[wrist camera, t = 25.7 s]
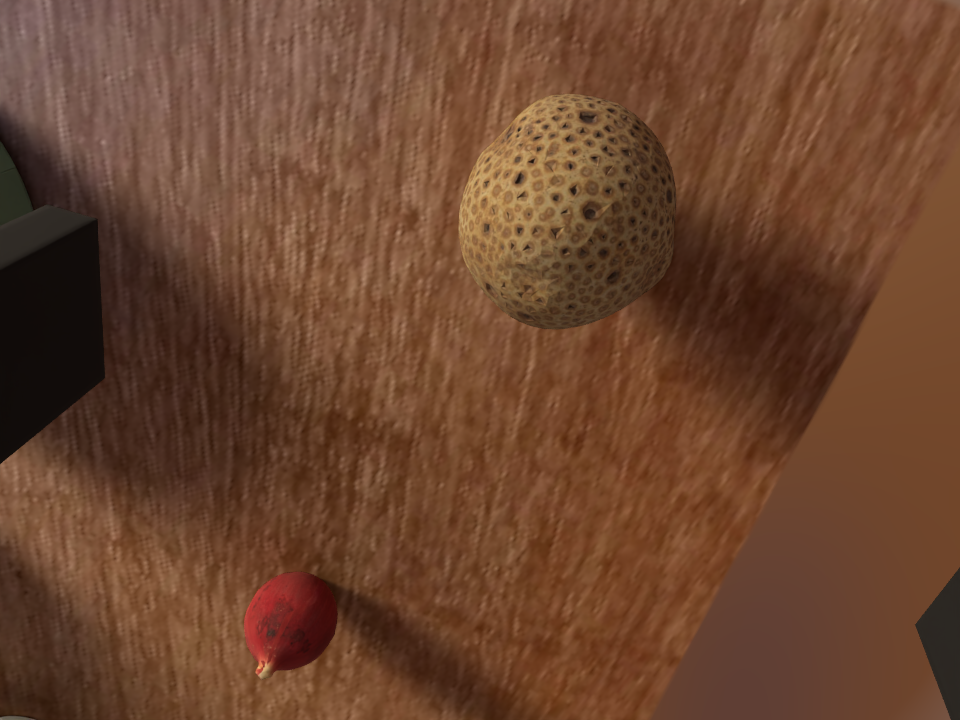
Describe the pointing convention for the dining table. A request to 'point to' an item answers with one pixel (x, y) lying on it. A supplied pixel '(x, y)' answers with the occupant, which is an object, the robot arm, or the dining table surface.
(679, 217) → the dining table surface
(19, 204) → the green bowl
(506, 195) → the natural sponge
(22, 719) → the decorative bowl
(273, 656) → the onion
